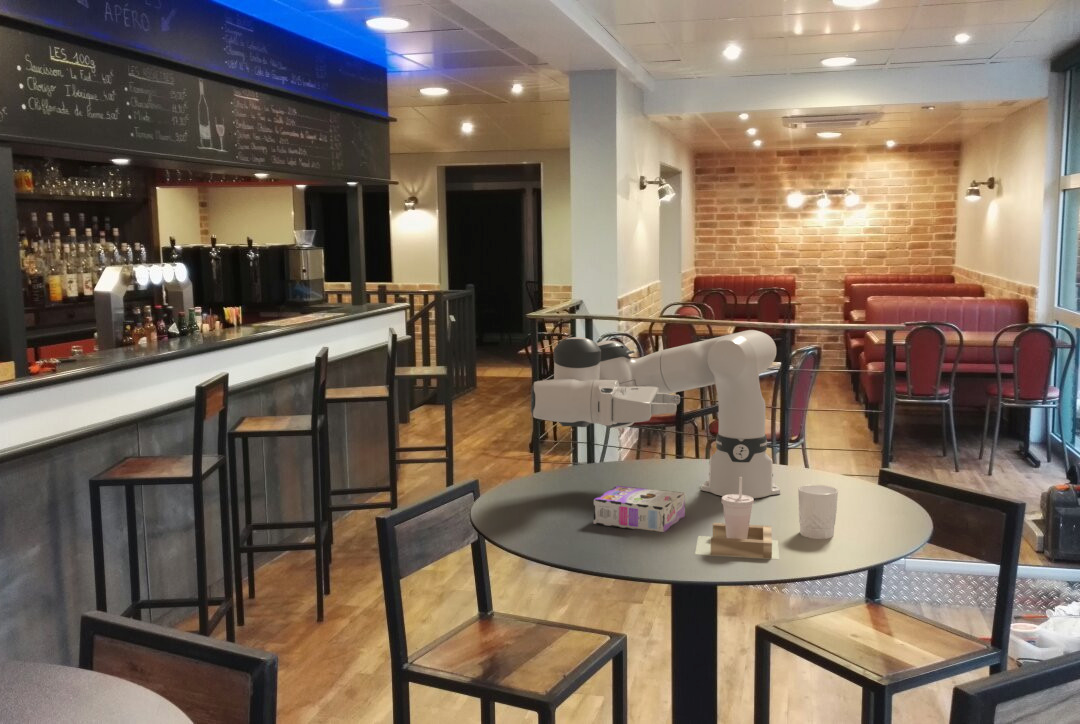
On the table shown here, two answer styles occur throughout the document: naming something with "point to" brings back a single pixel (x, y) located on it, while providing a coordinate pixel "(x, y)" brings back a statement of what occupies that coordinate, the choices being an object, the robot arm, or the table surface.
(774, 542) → the mat
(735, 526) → the smoothie
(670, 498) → the candy box
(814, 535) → the white cup
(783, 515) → the table surface
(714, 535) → the rack
